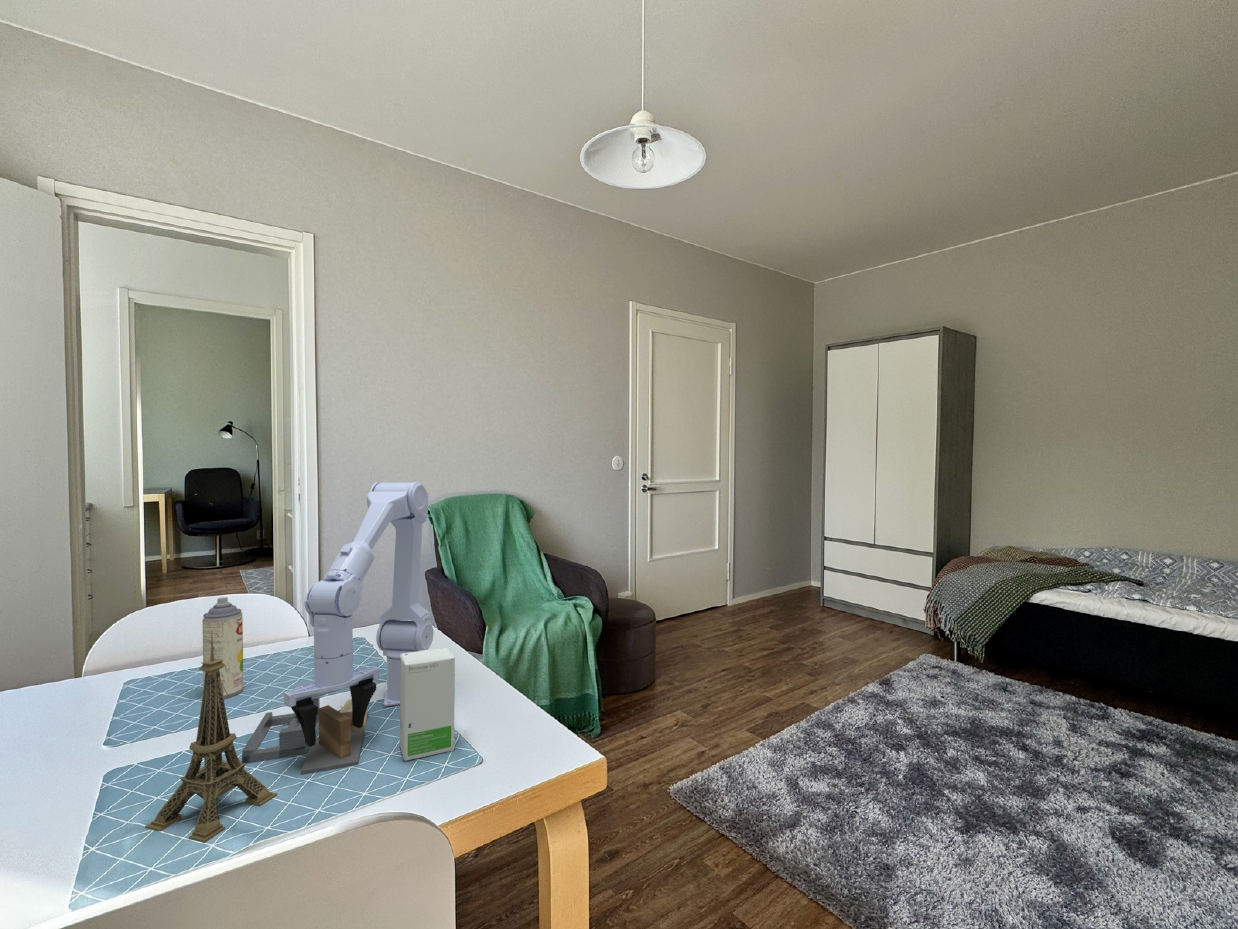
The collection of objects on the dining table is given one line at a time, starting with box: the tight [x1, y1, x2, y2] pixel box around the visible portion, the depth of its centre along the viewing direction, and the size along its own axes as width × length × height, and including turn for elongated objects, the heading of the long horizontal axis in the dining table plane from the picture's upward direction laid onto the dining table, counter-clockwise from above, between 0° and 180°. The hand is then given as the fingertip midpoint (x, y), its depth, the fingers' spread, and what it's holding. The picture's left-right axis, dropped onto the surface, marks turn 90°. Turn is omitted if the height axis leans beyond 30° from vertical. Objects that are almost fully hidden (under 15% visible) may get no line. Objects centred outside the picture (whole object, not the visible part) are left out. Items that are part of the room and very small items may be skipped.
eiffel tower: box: [144, 631, 278, 843], centre depth 78 cm, size 11×11×25 cm
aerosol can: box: [201, 596, 244, 700], centre depth 117 cm, size 7×7×20 cm
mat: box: [300, 730, 366, 775], centre depth 93 cm, size 8×11×1 cm
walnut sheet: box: [318, 704, 351, 759], centre depth 93 cm, size 2×8×6 cm, turn 51°
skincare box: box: [399, 647, 456, 762], centre depth 94 cm, size 8×7×16 cm
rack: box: [241, 696, 321, 764], centre depth 98 cm, size 9×15×4 cm, turn 19°
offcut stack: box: [339, 698, 369, 732], centre depth 103 cm, size 4×7×3 cm, turn 19°
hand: (334, 734), depth 93 cm, fingers open, 7 cm apart
